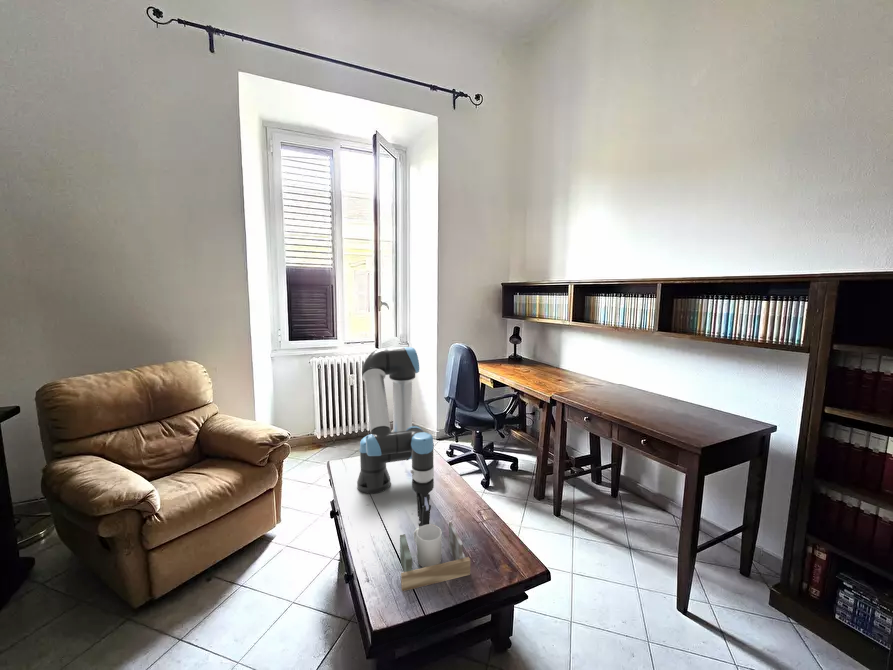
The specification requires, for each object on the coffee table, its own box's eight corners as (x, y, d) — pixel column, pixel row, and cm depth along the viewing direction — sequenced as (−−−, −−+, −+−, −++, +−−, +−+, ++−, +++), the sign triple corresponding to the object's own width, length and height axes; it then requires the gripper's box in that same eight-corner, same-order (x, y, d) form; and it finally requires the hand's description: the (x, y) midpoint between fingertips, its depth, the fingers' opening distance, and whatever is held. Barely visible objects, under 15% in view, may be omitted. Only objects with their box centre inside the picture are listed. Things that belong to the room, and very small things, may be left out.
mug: (405, 554, 125) (404, 526, 124) (423, 542, 131) (423, 516, 129) (428, 573, 116) (427, 544, 115) (446, 560, 122) (446, 532, 121)
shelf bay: (395, 560, 122) (394, 533, 121) (459, 546, 129) (459, 520, 127) (402, 591, 110) (401, 561, 108) (473, 573, 116) (473, 545, 115)
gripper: (408, 470, 132) (409, 530, 135) (416, 489, 119) (417, 554, 122) (428, 467, 134) (429, 526, 137) (438, 485, 121) (438, 550, 125)
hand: (423, 539), depth 130 cm, fingers closed
